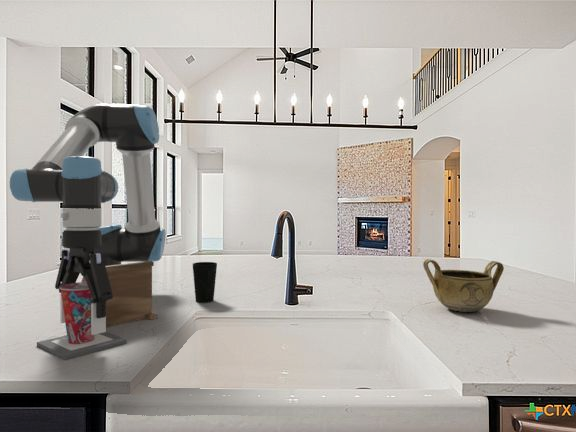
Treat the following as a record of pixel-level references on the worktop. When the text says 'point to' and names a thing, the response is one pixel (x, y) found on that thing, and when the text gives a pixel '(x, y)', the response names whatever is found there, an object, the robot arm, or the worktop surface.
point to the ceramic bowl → (464, 286)
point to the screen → (129, 293)
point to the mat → (80, 345)
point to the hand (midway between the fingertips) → (82, 327)
